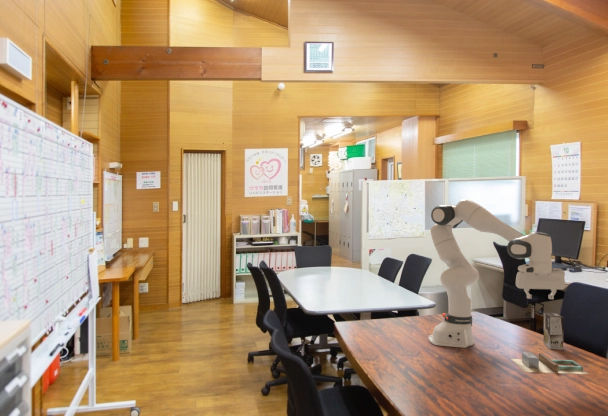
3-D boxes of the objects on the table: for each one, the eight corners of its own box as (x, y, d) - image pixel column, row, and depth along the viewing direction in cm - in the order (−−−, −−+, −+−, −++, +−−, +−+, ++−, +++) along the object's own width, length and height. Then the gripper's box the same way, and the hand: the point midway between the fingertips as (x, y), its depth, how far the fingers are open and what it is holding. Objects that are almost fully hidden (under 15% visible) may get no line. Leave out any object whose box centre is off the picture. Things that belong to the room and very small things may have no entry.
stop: (529, 368, 184) (529, 358, 184) (522, 362, 191) (522, 352, 191) (538, 368, 184) (538, 358, 184) (531, 362, 191) (531, 352, 191)
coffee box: (563, 350, 209) (564, 317, 209) (549, 349, 211) (549, 316, 210) (556, 344, 218) (557, 312, 218) (543, 343, 219) (543, 311, 219)
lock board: (524, 373, 180) (524, 364, 180) (510, 360, 195) (510, 351, 195) (589, 376, 178) (589, 366, 178) (570, 362, 193) (570, 353, 193)
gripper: (560, 267, 194) (560, 297, 195) (514, 266, 196) (514, 296, 196) (568, 269, 188) (567, 300, 188) (520, 268, 190) (519, 299, 190)
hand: (540, 298), depth 192 cm, fingers open, 8 cm apart
